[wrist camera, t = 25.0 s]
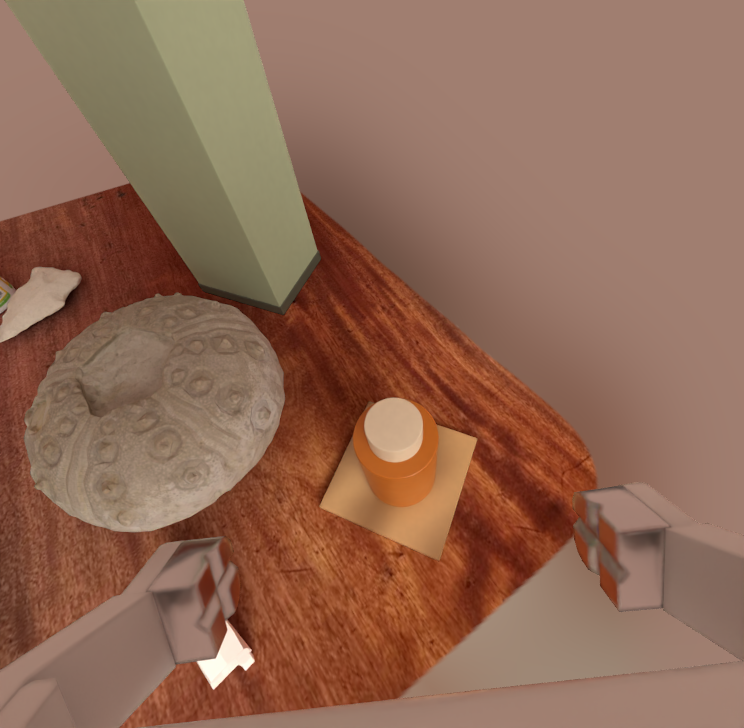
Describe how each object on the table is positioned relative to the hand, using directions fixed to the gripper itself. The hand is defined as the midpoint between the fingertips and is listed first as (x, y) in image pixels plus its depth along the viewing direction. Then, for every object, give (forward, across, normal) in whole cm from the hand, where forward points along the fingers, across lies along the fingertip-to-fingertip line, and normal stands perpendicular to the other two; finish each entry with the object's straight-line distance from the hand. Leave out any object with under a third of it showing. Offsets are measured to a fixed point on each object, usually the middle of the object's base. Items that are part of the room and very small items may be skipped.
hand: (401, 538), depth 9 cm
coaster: (+19, 0, +9) cm, 21 cm away
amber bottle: (+18, 0, +8) cm, 20 cm away
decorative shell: (+23, +17, +4) cm, 29 cm away
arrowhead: (+37, +34, -12) cm, 52 cm away
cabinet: (+35, +12, -8) cm, 38 cm away
